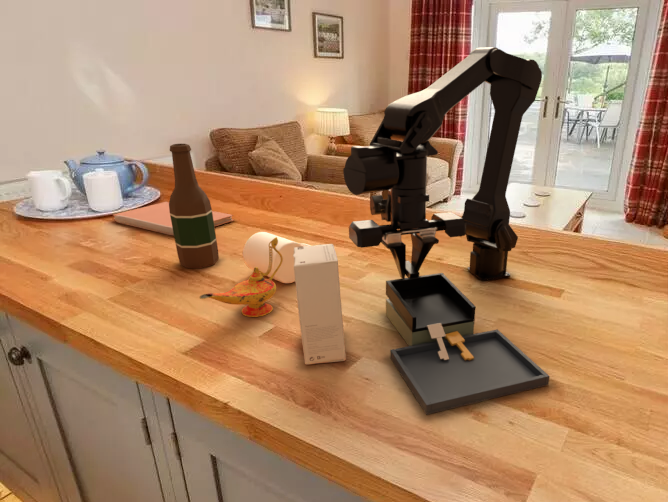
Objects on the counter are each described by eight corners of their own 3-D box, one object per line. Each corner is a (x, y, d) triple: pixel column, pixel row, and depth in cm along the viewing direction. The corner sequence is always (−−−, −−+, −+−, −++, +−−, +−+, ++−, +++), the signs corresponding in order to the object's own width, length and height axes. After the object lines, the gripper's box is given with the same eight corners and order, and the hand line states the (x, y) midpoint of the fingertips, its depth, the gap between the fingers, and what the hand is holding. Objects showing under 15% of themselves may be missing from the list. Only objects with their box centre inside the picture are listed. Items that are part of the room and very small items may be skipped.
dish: (376, 281, 84) (376, 264, 83) (430, 273, 87) (430, 257, 86) (412, 332, 70) (412, 313, 69) (474, 321, 73) (476, 303, 72)
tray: (496, 337, 75) (497, 329, 74) (548, 385, 64) (549, 376, 63) (390, 358, 69) (390, 349, 69) (426, 414, 58) (426, 405, 57)
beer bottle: (171, 265, 101) (147, 145, 91) (199, 253, 107) (179, 140, 98) (200, 271, 98) (179, 148, 88) (227, 258, 105) (210, 143, 95)
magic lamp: (191, 333, 75) (178, 266, 71) (271, 290, 90) (264, 232, 86) (224, 343, 72) (213, 275, 68) (301, 297, 87) (295, 238, 83)
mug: (275, 289, 90) (271, 248, 87) (244, 275, 96) (239, 236, 93) (325, 270, 99) (322, 232, 96) (294, 259, 105) (291, 223, 102)
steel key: (426, 326, 70) (427, 325, 70) (440, 324, 71) (441, 322, 71) (438, 362, 68) (439, 361, 67) (453, 359, 68) (454, 358, 68)
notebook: (110, 222, 129) (108, 214, 128) (166, 207, 142) (165, 200, 141) (179, 238, 117) (177, 230, 116) (234, 221, 130) (233, 214, 129)
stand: (385, 314, 81) (385, 298, 80) (440, 305, 85) (441, 290, 84) (411, 350, 71) (412, 332, 70) (473, 338, 74) (474, 321, 73)
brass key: (444, 336, 72) (444, 334, 72) (456, 332, 73) (457, 330, 72) (464, 362, 68) (465, 360, 68) (478, 358, 69) (478, 355, 68)
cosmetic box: (346, 361, 68) (341, 262, 62) (302, 366, 67) (293, 265, 61) (340, 332, 76) (335, 241, 70) (300, 336, 75) (292, 244, 69)
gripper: (440, 173, 88) (438, 255, 94) (338, 180, 81) (342, 268, 87) (469, 185, 78) (465, 276, 84) (356, 194, 72) (360, 292, 78)
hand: (408, 277), depth 84 cm, fingers closed, pressing on dish
